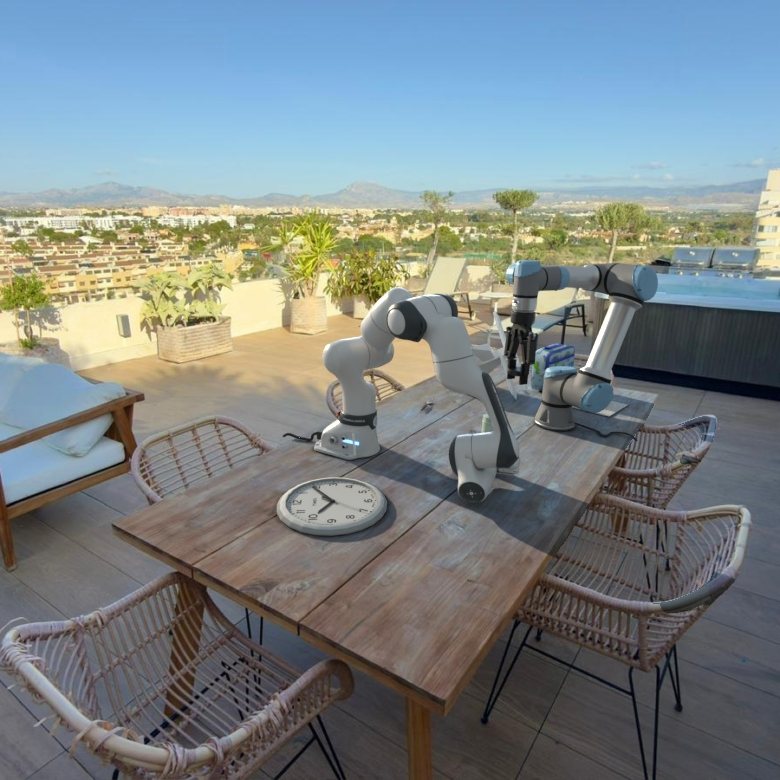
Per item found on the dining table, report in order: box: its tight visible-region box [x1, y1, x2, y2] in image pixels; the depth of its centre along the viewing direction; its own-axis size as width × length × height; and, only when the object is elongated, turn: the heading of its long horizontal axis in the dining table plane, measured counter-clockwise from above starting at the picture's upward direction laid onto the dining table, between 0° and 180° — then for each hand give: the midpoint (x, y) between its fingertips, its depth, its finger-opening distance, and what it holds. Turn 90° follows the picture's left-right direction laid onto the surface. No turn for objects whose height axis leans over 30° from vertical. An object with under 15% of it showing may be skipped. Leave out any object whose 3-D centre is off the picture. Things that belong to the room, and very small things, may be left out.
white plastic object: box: [472, 310, 531, 400], centre depth 245 cm, size 37×45×31 cm
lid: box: [508, 366, 520, 377], centre depth 170 cm, size 6×6×2 cm
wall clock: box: [276, 476, 388, 537], centre depth 142 cm, size 30×2×30 cm
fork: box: [420, 396, 435, 411], centre depth 223 cm, size 3×16×2 cm, turn 160°
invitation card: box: [573, 400, 629, 418], centre depth 226 cm, size 21×1×15 cm
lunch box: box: [530, 343, 576, 391], centre depth 249 cm, size 26×11×21 cm, turn 134°
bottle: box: [481, 412, 494, 433], centre depth 163 cm, size 5×5×18 cm
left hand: (489, 450), depth 164 cm, fingers closed on bottle, 5 cm apart
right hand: (516, 381), depth 171 cm, fingers closed on lid, 6 cm apart
